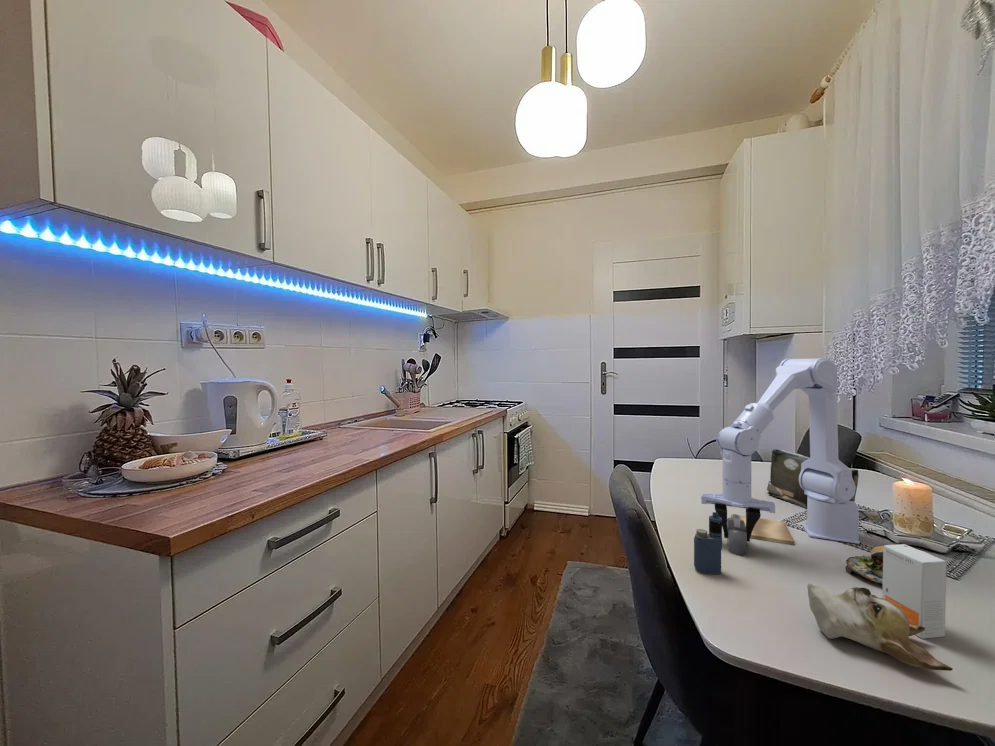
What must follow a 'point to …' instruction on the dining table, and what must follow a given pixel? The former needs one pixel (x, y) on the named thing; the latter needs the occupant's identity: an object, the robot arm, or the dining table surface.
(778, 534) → the oak board
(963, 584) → the dining table surface
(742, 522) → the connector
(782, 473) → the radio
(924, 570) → the skincare box
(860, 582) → the dining table surface
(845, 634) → the ceramic sculpture
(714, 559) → the vaping device
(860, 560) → the burger
